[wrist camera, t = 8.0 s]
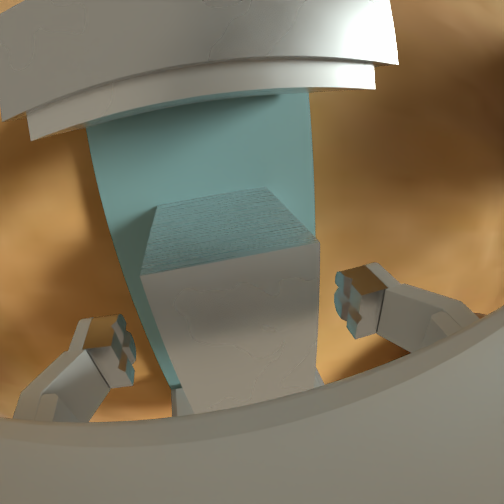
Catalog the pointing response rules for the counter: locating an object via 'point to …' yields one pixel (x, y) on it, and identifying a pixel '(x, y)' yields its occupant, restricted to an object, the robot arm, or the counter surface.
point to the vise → (198, 177)
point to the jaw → (180, 54)
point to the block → (234, 297)
